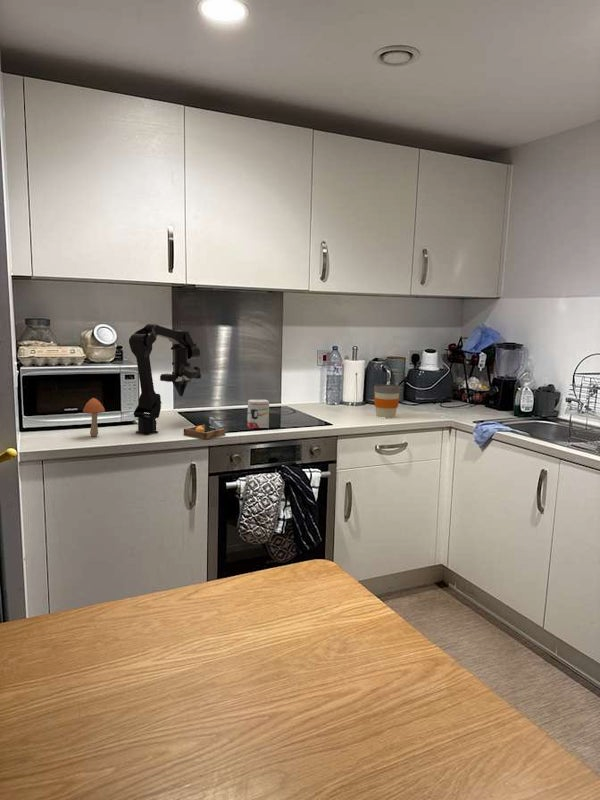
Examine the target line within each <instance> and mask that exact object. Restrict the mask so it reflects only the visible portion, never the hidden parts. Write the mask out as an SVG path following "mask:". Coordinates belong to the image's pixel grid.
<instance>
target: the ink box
mask: <svg viewBox="0 0 600 800" xmlns="http://www.w3.org/2000/svg"><path fill="white" fill-rule="evenodd" d="M269 423H270V401H269V400H267V399H248V400H247V421H246V424H247V425H246V426H247V428H248V429H249V430H255V429H254V428H268V429H270V424H269Z"/></svg>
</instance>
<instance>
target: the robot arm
mask: <svg viewBox="0 0 600 800" xmlns="http://www.w3.org/2000/svg"><path fill="white" fill-rule="evenodd" d="M157 337H161V338H164V339H167V340H169V342H171V343H172V344H173V345H172V346H171V348H170V350H172V351H173V362H171V364H172V365H173V371H171V373H161V374H160V375H159V380H160V381H161V382H167V383H171V382H172V384H173V386H174V387H175V390H176V392H177V394H178V395H179V397H183V395H184V393H185V391H186V388H187V385H188V384H189V383H190V382H192V379H196V380H197V379H201V378H202V374H201V367H200V366H194V367H193V366H192V367H191V362H189V360H194V359H198V358H199V357H200V355H201V350H200V348H199V346H197V343H195V342H194V341H193V339H192V337H191V335H190V332H189V331H188V330H179V329H178V330H175V329H171V328H168V327H166V326H161V325H159V324H157V323H148V324H146V325H144V327H142V328H140V329H139V330H136V331H135V332H134V333H133V334H132V335H131V336H130V337H129V339H128V345H129V348H130V351H131V353H132V354H133V355H134V356H135V359H136V365H137V371H138V378H139V379H138V380H139V385H140V391H141V392H140V394H139V397H138V405H137V406H136V408H135V409H134V411H133V417H134V418H137V430H136V431H135V433H136V434H139V435H146V436H148V435H152V434H157V433H159V430H157V420H156V419H159V418H160V414H161V409H162V404H163V403H162V399H161V394H160V393H156V391H155V389H154V388H155V386H154V381H153V375H152V374H153V373H152V367H151V366H152V365H151V360H150V355H151V353H152V351H153V344H154V343H155V342H156V341H157Z"/></svg>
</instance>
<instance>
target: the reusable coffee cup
mask: <svg viewBox="0 0 600 800" xmlns="http://www.w3.org/2000/svg"><path fill="white" fill-rule="evenodd" d="M373 392H374V396H373V397H374V399H373V401H374V406H375V413H376V417H377V416H378V417H377V418H379V417H385V418H384V419H394V418H393V417H395V418H396V415H397V413H396V412H397V409H398V406H399V402H400V397H399V396H400V393H401V386H400V385H395V384H375V385H374V388H373Z"/></svg>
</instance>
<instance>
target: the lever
mask: <svg viewBox="0 0 600 800" xmlns="http://www.w3.org/2000/svg"><path fill="white" fill-rule="evenodd" d="M208 424H210V426H213V427H214V428H213V429H214V430H219V429H224V426H223V425H222V423H220V422H219V419H218V418H215V417H213V416H209V417H208Z"/></svg>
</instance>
